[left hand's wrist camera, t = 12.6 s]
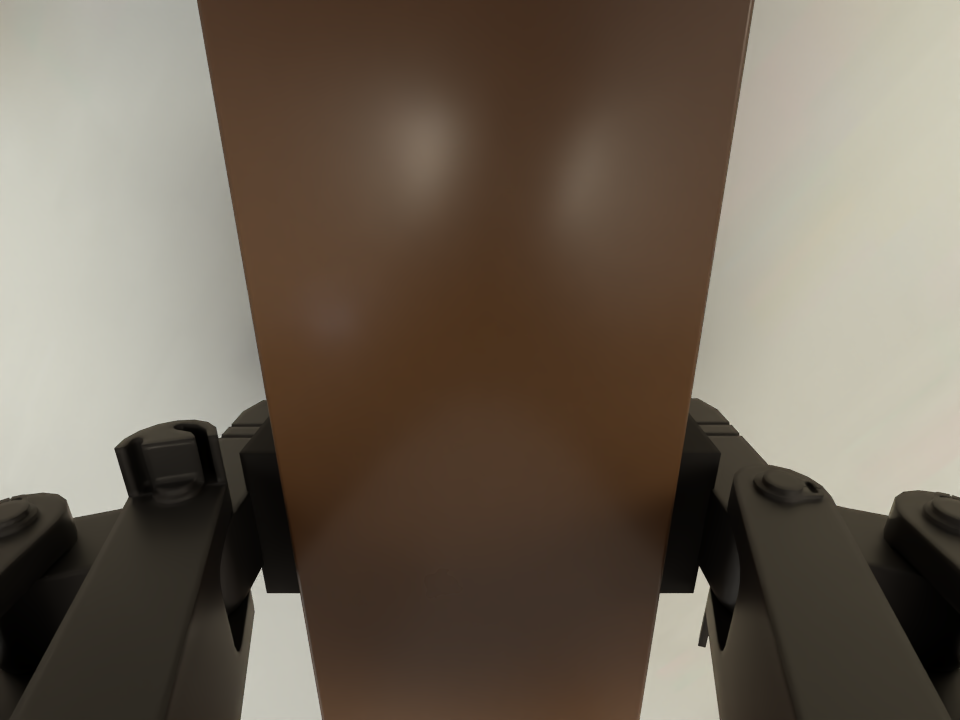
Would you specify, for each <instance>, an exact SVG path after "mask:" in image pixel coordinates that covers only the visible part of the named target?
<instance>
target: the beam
mask: <svg viewBox="0 0 960 720" xmlns="http://www.w3.org/2000/svg"><path fill="white" fill-rule="evenodd" d="M754 1H755V0H197V3H198V9H199V15H200V20H201V26H202V32H203V38H204V43H205V49H206V55H207V61H208V66H209V72H210V78H211V84H212V89H213V95H214V101H215V107H216V112H217V118H218V124H219V130H220V135H221V141H222V147H223V153H224V158H225V164H226V170H227V175H228V181H229V187H230V193H231V198H232V204H233V210H234V216H235V221H236V227H237V233H238V239H239V244H240V250H241V256H242V262H243V267H244V273H245V279H246V285H247V290H248V296H249V302H250V308H251V313H252V319H253V325H254V330H255V336H256V342H257V348H258V353H259V359H260V365H261V371H262V376H263V382H264V388H265V394H266V399H267V405H268V411H269V417H270V422H271V428H272V434H273V440H274V445H275V451H276V457H277V463H278V468H279V474H280V480H281V485H282V491H283V497H284V503H285V508H286V514H287V520H288V526H289V531H290V537H291V543H292V549H293V554H294V560H295V566H296V572H297V577H298V583H299V589H300V595H301V600H302V606H303V612H304V618H305V623H306V629H307V635H308V641H309V646H310V652H311V658H312V663H313V669H314V675H315V681H316V686H317V692H318V698H319V704H320V709H321V715H322V720H639V719H640V713H641V707H642V701H643V694H644V688H645V682H646V676H647V669H648V663H649V657H650V651H651V644H652V638H653V632H654V626H655V619H656V613H657V607H658V601H659V594H660V588H661V582H662V576H663V569H664V563H665V557H666V551H667V544H668V538H669V532H670V526H671V519H672V513H673V507H674V501H675V494H676V488H677V482H678V476H679V469H680V463H681V457H682V451H683V444H684V438H685V432H686V426H687V419H688V413H689V407H690V401H691V394H692V388H693V382H694V376H695V369H696V363H697V357H698V351H699V344H700V338H701V332H702V326H703V319H704V313H705V307H706V301H707V294H708V288H709V282H710V276H711V269H712V263H713V257H714V251H715V244H716V238H717V232H718V226H719V219H720V213H721V207H722V201H723V194H724V188H725V182H726V176H727V169H728V163H729V157H730V151H731V144H732V138H733V132H734V126H735V119H736V113H737V107H738V101H739V94H740V88H741V82H742V76H743V69H744V63H745V57H746V51H747V44H748V38H749V32H750V26H751V19H752V13H753V7H754Z"/></svg>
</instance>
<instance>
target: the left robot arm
mask: <svg viewBox="0 0 960 720" xmlns="http://www.w3.org/2000/svg"><path fill="white" fill-rule="evenodd" d="M114 449H115V452H116V456H117V459H118V462H119V466H120V469H121V472H122V476H123V479H124V482H125V486H126V489H127V492H128V496H129V498H128V500H127V502H126V504H125V505H124V507H123V508H122V509H118V510H113V511H108V512H103V513H97V514H92V515H87V516H82V517H76V518H73V517H72V515H71V512H70V509H69V506H68V503H67V500H66V499H64V498H63V497H61V496H60V495H58V494H50V493H37V494H29V495H19V496H14V497H12V498H11V499H9V498H7V499H4V500H0V720H240V718H241V711H242V703H243V696H244V688H245V680H246V673H247V665H248V657H249V650H250V642H251V634H252V627H253V619H254V612H255V611H254V605H253V599H252V594H251V587H252V585H253V583H254V581H255V579H256V577H257V575H258V573H259V571H260V570H261V568H262V570H263V575H264V581H265V586H266V591H267V593H300V589H299V583H298V577H297V572H296V566H295V560H294V554H293V549H292V543H291V537H290V531H289V526H288V520H287V514H286V508H285V503H284V497H283V491H282V485H281V480H280V474H279V468H278V463H277V457H276V451H275V445H274V440H273V434H272V428H271V422H270V417H269V411H268V405H267V400H263V401H261V402H259V403H257V404H256V405H254V406H252V407H250V408H248V409H247V410H245V411H243V412H242V413H241V415H240V416H239V417H238V418H237V419H236V420H235V421H234V422H233V423H232V427H229V428H228V429H227V430H226V431H225V432H224V433H223V434H222V438H219V439H218V435H217V430H216V427H215V426H213V425H212V424H210V423H209V422H205V421H199V420H177V421H172V422H167V423H162V424H158V425H155V426H152V427H149V428H146V429H143V430H140V431H138V432H136V433H134V434H133V435H131V436H129V437H127V438H125V439H124V440H123V441H122V442H121V443H119V444H118V445H117V446H116V447H115V448H114ZM699 566H700V568H701V570H702V572H703V574H704V576H705V577H706V579H707V581H708V583H709V585H710V589H709V594H708V599H707V603H706V608H705V613H704V617H703V622H702V627H701V632H700V637H699V643H698V646H701V647H706V643H707V638H708V636H709V641H710V648H711V656H712V664H713V671H714V679H715V686H716V694H717V702H718V709H719V717H720V720H960V497H956V496H953V495H952V496H950V494H945V493H940V492H928V491H920V490H917V491H907V492H902V493H901V494H899V495H898V496H896V497H895V499H894V502H893V505H892V508H891V510H890V513H889V516H887V515H881V514H876V513H870V512H865V511H860V510H854V509H849V508H844V507H840V506H836V504H835V503H834V501H833V499H832V497H831V496H830V495H829V493H828V492H827V491H826V490H825V489H824V488H823V486H821V485H820V484H818V483H817V482H815V481H814V480H812V479H810V478H809V477H807V476H805V475H802V474H800V473H797V472H795V471H792V470H790V469H786V468H781V467H777V466H773V465H768V464H767V463H766V462H765V461H764V460H763V459H762V457H761V456H760V455H759V454H758V453H757V452H756V451H755V450H754V449H753V448H752V447H751V446H750V444H749V443H748V442H747V441H746V440H745V439H744V438H743V437H742V436H739V432H738V431H737V430H736V429H735V428H734V427H733V426H732V425H729V422H728V421H727V419H726V418H725V417H724V416H723V415H722V414H721V413H720V412H719V411H718V410H717V409H716V408H714V407H712V406H710V405H708V404H707V403H705V402H703V401H701V400H699V399H698V398H691V401H690V407H689V413H688V419H687V426H686V432H685V438H684V444H683V451H682V457H681V463H680V469H679V476H678V482H677V488H676V494H675V501H674V507H673V513H672V519H671V526H670V532H669V538H668V544H667V551H666V557H665V563H664V569H663V576H662V582H661V588H660V593H694V588H695V583H696V578H697V573H698V568H699Z"/></svg>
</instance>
